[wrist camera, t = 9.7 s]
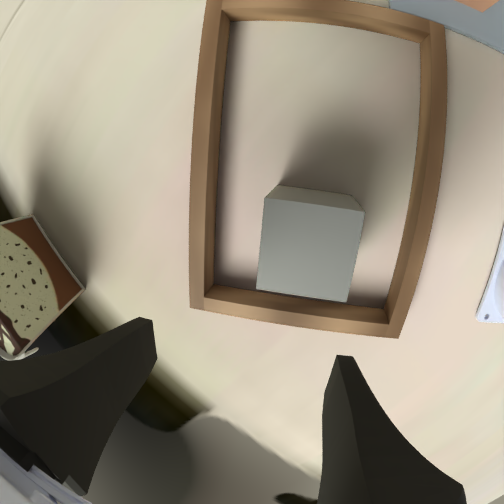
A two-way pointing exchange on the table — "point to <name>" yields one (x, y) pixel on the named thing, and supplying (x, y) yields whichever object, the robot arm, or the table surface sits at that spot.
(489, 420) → the table surface
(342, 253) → the plain block
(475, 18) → the slate mat
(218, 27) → the walnut bin
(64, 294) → the food container
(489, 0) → the labelled block
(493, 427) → the table surface
